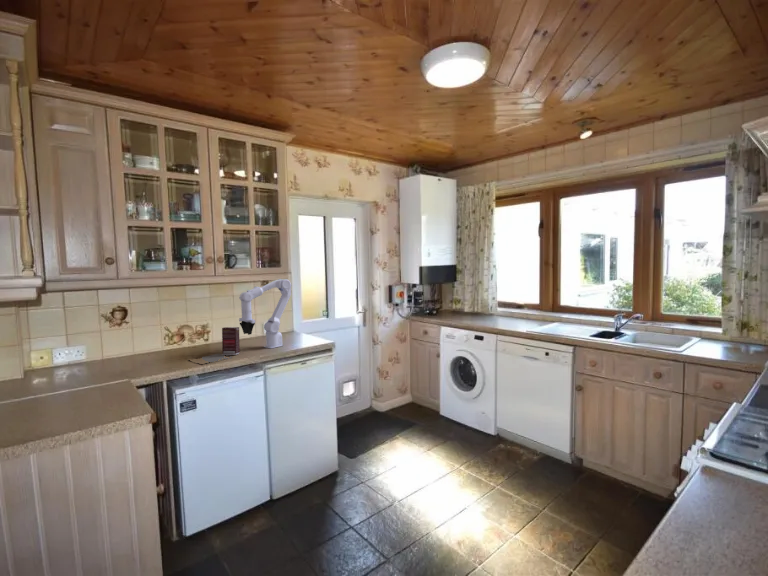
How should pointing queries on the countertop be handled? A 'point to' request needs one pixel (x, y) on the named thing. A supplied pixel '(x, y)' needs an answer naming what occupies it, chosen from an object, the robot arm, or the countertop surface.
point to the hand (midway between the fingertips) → (247, 334)
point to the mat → (214, 357)
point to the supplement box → (230, 341)
